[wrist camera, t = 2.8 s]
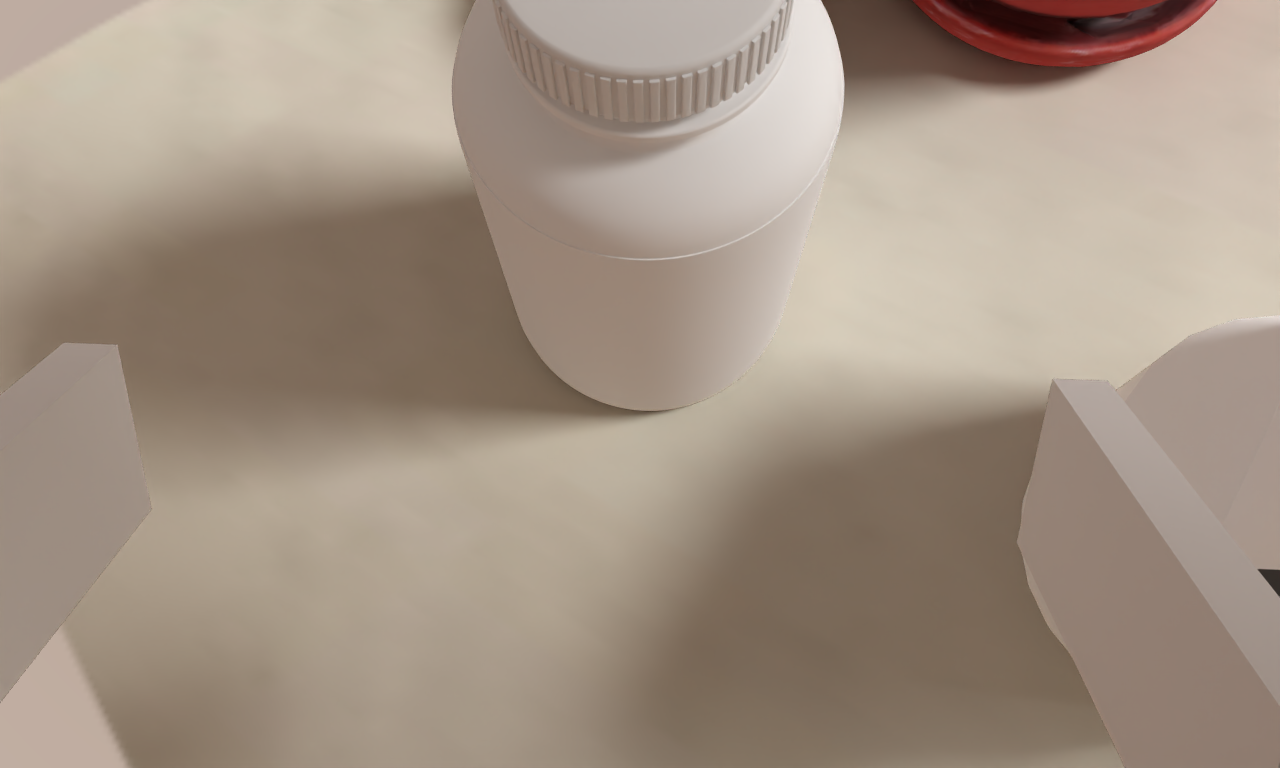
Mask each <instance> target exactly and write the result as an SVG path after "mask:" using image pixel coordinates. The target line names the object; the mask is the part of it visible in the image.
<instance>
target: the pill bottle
mask: <svg viewBox="0 0 1280 768" xmlns="http://www.w3.org/2000/svg"><path fill="white" fill-rule="evenodd" d="M452 104H453V112H454V119H455V124H456V128H457V133H458V137H459V140H460V144H461V147H462V150H463V154H464V157H465V160H466V163H467V166H468V169H469V172H470V175H471V178H472V181H473V184H474V187H475V190H476V192H477V195H478V198H479V201H480V204H481V207H482V210H483V213H484V216H485V219H486V222H487V225H488V228H489V231H490V234H491V237H492V240H493V243H494V246H495V249H496V252H497V255H498V258H499V261H500V264H501V267H502V270H503V273H504V276H505V279H506V282H507V285H508V288H509V291H510V294H511V297H512V300H513V303H514V306H515V309H516V312H517V315H518V318H519V321H520V323H521V326H522V328H523V330H524V332H525V334H526V336H527V338H528V340H529V342H530V343H531V345H532V346H533V348H534V349H535V351H536V352H537V354H538V355H539V356H540V358H541V359H542V360H543V361H544V363H545V364H546V365H547V366H548V367H549V368H550V369H551V370H552V371H553V372H554V373H555V374H556V375H557V376H558V377H559V378H560V379H562V380H563V381H564V382H565V383H567V384H568V385H569V386H571V387H572V388H574V389H575V390H577V391H579V392H580V393H582V394H584V395H586V396H588V397H590V398H592V399H594V400H597V401H599V402H602V403H605V404H608V405H612V406H615V407H620V408H625V409H631V410H641V411H659V410H669V409H675V408H680V407H685V406H688V405H692V404H695V403H698V402H701V401H703V400H705V399H708V398H710V397H712V396H714V395H716V394H718V393H720V392H721V391H723V390H725V389H726V388H728V387H729V386H731V385H732V384H733V383H735V382H736V381H737V380H739V379H740V378H741V377H742V376H743V375H744V374H745V373H746V372H747V371H748V370H749V369H750V368H751V367H752V366H753V365H754V364H755V363H756V362H757V360H758V359H759V358H760V357H761V355H762V354H763V352H764V351H765V349H766V348H767V346H768V345H769V343H770V342H771V340H772V338H773V336H774V335H775V333H776V331H777V328H778V326H779V324H780V321H781V319H782V316H783V313H784V309H785V306H786V303H787V300H788V296H789V293H790V290H791V287H792V283H793V280H794V277H795V274H796V270H797V267H798V264H799V261H800V257H801V254H802V251H803V248H804V245H805V241H806V238H807V235H808V232H809V228H810V225H811V222H812V219H813V215H814V212H815V209H816V206H817V202H818V199H819V196H820V193H821V189H822V186H823V183H824V180H825V176H826V173H827V170H828V167H829V163H830V160H831V157H832V154H833V150H834V147H835V144H836V140H837V136H838V132H839V128H840V124H841V118H842V112H843V104H844V72H843V65H842V59H841V55H840V51H839V46H838V42H837V38H836V35H835V32H834V29H833V26H832V23H831V20H830V18H829V16H828V13H827V11H826V9H825V7H824V5H823V3H822V1H821V0H476V1H475V3H474V5H473V7H472V9H471V11H470V13H469V15H468V18H467V20H466V22H465V25H464V28H463V31H462V34H461V37H460V40H459V44H458V49H457V53H456V58H455V63H454V69H453V78H452Z"/></svg>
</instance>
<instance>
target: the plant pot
mask: <svg viewBox="0 0 1280 768" xmlns="http://www.w3.org/2000/svg"><path fill="white" fill-rule="evenodd" d="M912 1H913V2H914V3H915V4H916V5H917V6H918V7H919V8H920V9H921V10H922V11H923V12H924V13H925V14H926V15H928V16H929V17H930V18H931V19H932V20H933V21H935V22H936V23H937V24H938V25H939V26H941V27H942V28H943V29H945V30H946V31H948V32H949V33H951V34H952V35H954V36H956V37H957V38H959V39H961V40H962V41H964V42H966V43H968V44H970V45H972V46H974V47H976V48H978V49H981V50H983V51H986V52H988V53H991V54H994V55H996V56H999V57H1003V58H1006V59H1010V60H1014V61H1018V62H1023V63H1028V64H1035V65H1043V66H1063V67H1083V66H1092V65H1098V64H1105V63H1110V62H1115V61H1119V60H1123V59H1126V58H1130V57H1133V56H1136V55H1139V54H1142V53H1144V52H1147V51H1149V50H1152V49H1154V48H1156V47H1158V46H1160V45H1162V44H1164V43H1166V42H1168V41H1169V40H1171V39H1172V38H1174V37H1176V36H1177V35H1179V34H1180V33H1182V32H1183V31H1185V30H1186V29H1187V28H1189V27H1190V26H1191V25H1193V24H1194V23H1195V22H1196V21H1197V20H1199V19H1200V18H1201V17H1202V16H1203V15H1204V14H1205V13H1206V12H1207V11H1208V10H1209V9H1210V8H1211V7H1212V6H1213V5H1214V4H1215V2H1216V1H1217V0H912Z"/></svg>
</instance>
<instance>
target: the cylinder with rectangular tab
mask: <svg viewBox="0 0 1280 768" xmlns="http://www.w3.org/2000/svg"><path fill="white" fill-rule="evenodd" d="M1116 392H1117V393H1118V394H1119V395H1120V397H1121V398H1122V399H1123V400H1124V402H1125V403H1126V404H1127V405H1128V407H1129V408H1130V409H1131V410H1132V412H1133V413H1134V414H1135V416H1136V417H1137V418H1138V419H1139V421H1140V422H1141V423H1142V424H1143V426H1144V427H1145V428H1146V429H1147V431H1148V432H1149V433H1150V434H1151V436H1152V437H1153V438H1154V440H1155V441H1156V442H1157V443H1158V445H1159V446H1160V447H1161V448H1162V450H1163V451H1164V452H1165V453H1166V455H1167V456H1168V457H1169V458H1170V460H1171V461H1172V462H1173V463H1174V465H1175V466H1176V467H1177V469H1178V470H1179V471H1180V472H1181V474H1182V475H1183V476H1184V477H1185V479H1186V480H1187V481H1188V482H1189V484H1190V485H1191V486H1192V487H1193V489H1194V490H1195V491H1196V492H1197V494H1198V495H1199V496H1200V498H1201V499H1202V500H1203V501H1204V503H1205V504H1206V505H1207V506H1208V508H1209V509H1210V510H1211V511H1212V513H1213V514H1214V515H1215V516H1216V518H1217V519H1218V520H1219V522H1220V523H1221V524H1222V525H1223V527H1224V528H1225V529H1226V530H1227V532H1228V533H1229V534H1230V535H1231V537H1232V538H1233V539H1234V540H1235V542H1236V543H1237V544H1238V545H1239V547H1240V548H1241V549H1242V551H1243V552H1244V553H1245V554H1246V556H1247V557H1248V558H1249V559H1250V561H1251V562H1252V563H1253V564H1254V566H1255V567H1256V568H1257V569H1273V570H1280V315H1277V316H1266V317H1254V318H1243V319H1234V320H1231V321H1228V322H1225V323H1223V324H1220V325H1217V326H1214V327H1212V328H1209V329H1206V330H1204V331H1201V332H1198V333H1195V334H1193V335H1190V336H1188V337H1187V338H1186V339H1184V340H1183V341H1182V342H1180V343H1179V344H1178V345H1176V346H1175V347H1174V348H1172V349H1171V350H1170V351H1168V352H1167V353H1166V354H1164V355H1163V356H1162V357H1160V358H1159V359H1157V360H1156V361H1155V362H1153V363H1152V364H1151V365H1149V366H1148V367H1147V368H1145V369H1144V370H1143V371H1141V372H1140V373H1139V374H1137V375H1136V376H1135V377H1133V378H1132V379H1131V380H1129V381H1128V382H1127V383H1125V384H1124V385H1122V386H1121V387H1120V388H1118V389H1117V390H1116ZM1029 484H1030V482H1029ZM1028 489H1029V485H1028V487H1027V490H1026V493H1025V496H1024V498H1023V502H1022V516H1023V511H1024V507H1025V502H1026V498H1027V493H1028ZM1021 521H1022V517H1021ZM1022 556H1023V555H1022ZM1023 561H1024V566H1025V571H1026V576H1027V581H1028V586H1029V588H1030V590H1031V592H1032V594H1033V596H1034V598H1035V600H1036V602H1037V605H1038V607H1039V609H1040V611H1041V613H1042V615H1043V617H1044V619H1045V621H1046V623H1047V626H1048V627H1049V629H1050V630H1051V631H1052V632H1053V634H1054V635H1055V636H1056V637H1057V639H1058V640H1059V641H1060V642H1061V643H1062V645H1063V646H1064V647H1065V648H1066V650H1067V651H1068V652H1069V650H1068V648H1067V646H1066V644H1065V642H1064V640H1063V638H1062V636H1061V634H1060V632H1059V630H1058V627H1057V625H1056V623H1055V621H1054V619H1053V617H1052V615H1051V613H1050V611H1049V609H1048V607H1047V605H1046V602H1045V600H1044V598H1043V596H1042V594H1041V592H1040V590H1039V588H1038V586H1037V584H1036V582H1035V580H1034V578H1033V575H1032V573H1031V571H1030V569H1029V567H1028V565H1027V563H1026V561H1025V559H1024V557H1023ZM1069 653H1070V652H1069ZM1070 655H1071V654H1070Z"/></svg>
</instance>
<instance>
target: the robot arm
mask: <svg viewBox="0 0 1280 768" xmlns="http://www.w3.org/2000/svg"><path fill="white" fill-rule="evenodd" d="M151 509H152V508H151V503H150V498H149V493H148V488H147V484H146V479H145V474H144V469H143V464H142V460H141V455H140V450H139V445H138V440H137V436H136V431H135V426H134V421H133V416H132V412H131V407H130V402H129V397H128V392H127V388H126V383H125V378H124V373H123V369H122V364H121V359H120V354H119V349H118V345H115V344H88V343H63V344H61V345H60V346H59V347H58V348H57V349H55V350H54V351H53V352H52V353H50V354H49V355H48V356H47V357H46V358H44V359H43V360H42V361H41V362H40V363H38V364H37V365H36V366H35V367H34V368H32V369H31V370H30V371H29V372H27V373H26V374H25V375H24V376H23V377H21V378H20V379H19V380H18V381H17V382H15V383H14V384H13V385H12V386H10V387H9V388H8V389H7V390H6V391H4V392H3V393H2V394H1V395H0V702H1V701H2V700H3V699H4V697H5V696H6V695H7V694H8V692H9V691H10V690H11V688H12V687H13V686H14V685H15V683H16V682H17V681H18V680H19V678H20V677H21V676H22V674H23V673H24V672H25V671H26V669H27V668H28V667H29V665H30V664H31V663H32V662H33V660H34V659H35V658H36V656H37V655H38V654H39V653H40V651H41V650H42V649H43V647H44V646H45V645H46V644H47V642H48V641H49V640H50V639H51V637H52V636H53V635H54V633H55V632H56V631H57V630H58V628H59V627H60V626H61V625H62V623H63V622H64V621H65V619H66V618H67V617H68V616H69V614H70V613H71V612H72V610H73V609H74V608H75V607H76V605H77V604H78V603H79V601H80V600H81V599H82V598H83V596H84V595H85V594H86V593H87V591H88V590H89V589H90V587H91V586H92V585H93V584H94V582H95V581H96V580H97V578H98V577H99V576H100V575H101V573H102V572H103V571H104V570H105V568H106V567H107V566H108V564H109V563H110V562H111V561H112V559H113V558H114V557H115V555H116V554H117V553H118V552H119V550H120V549H121V548H122V546H123V545H124V544H125V543H126V541H127V540H128V539H129V538H130V536H131V535H132V534H133V532H134V531H135V530H136V529H137V527H138V526H139V525H140V523H141V522H142V521H143V520H144V518H145V517H146V516H147V515H148V513H149V512H150V511H151ZM1017 544H1018V546H1019V548H1020V551H1021V553H1022V555H1023V557H1024V559H1025V561H1026V563H1027V565H1028V567H1029V569H1030V571H1031V573H1032V575H1033V578H1034V580H1035V582H1036V584H1037V586H1038V588H1039V590H1040V592H1041V594H1042V596H1043V598H1044V600H1045V602H1046V605H1047V607H1048V609H1049V611H1050V613H1051V615H1052V617H1053V619H1054V621H1055V623H1056V625H1057V627H1058V630H1059V632H1060V634H1061V636H1062V638H1063V640H1064V642H1065V644H1066V646H1067V648H1068V650H1069V652H1070V654H1071V657H1072V659H1073V661H1074V663H1075V665H1076V667H1077V669H1078V671H1079V673H1080V675H1081V677H1082V679H1083V681H1084V684H1085V686H1086V688H1087V690H1088V692H1089V694H1090V696H1091V698H1092V700H1093V702H1094V704H1095V706H1096V708H1097V711H1098V713H1099V715H1100V717H1101V719H1102V721H1103V723H1104V725H1105V727H1106V729H1107V731H1108V733H1109V735H1110V738H1111V740H1112V742H1113V744H1114V746H1115V748H1116V750H1117V752H1118V754H1119V756H1120V758H1121V760H1122V762H1123V765H1124V767H1125V768H1280V570H1273V569H1257V568H1256V567H1255V566H1254V564H1253V563H1252V562H1251V561H1250V559H1249V558H1248V557H1247V556H1246V554H1245V553H1244V552H1243V551H1242V549H1241V548H1240V547H1239V545H1238V544H1237V543H1236V542H1235V540H1234V539H1233V538H1232V537H1231V535H1230V534H1229V533H1228V532H1227V530H1226V529H1225V528H1224V527H1223V525H1222V524H1221V523H1220V522H1219V520H1218V519H1217V518H1216V516H1215V515H1214V514H1213V513H1212V511H1211V510H1210V509H1209V508H1208V506H1207V505H1206V504H1205V503H1204V501H1203V500H1202V499H1201V498H1200V496H1199V495H1198V494H1197V492H1196V491H1195V490H1194V489H1193V487H1192V486H1191V485H1190V484H1189V482H1188V481H1187V480H1186V479H1185V477H1184V476H1183V475H1182V474H1181V472H1180V471H1179V470H1178V469H1177V467H1176V466H1175V465H1174V463H1173V462H1172V461H1171V460H1170V458H1169V457H1168V456H1167V455H1166V453H1165V452H1164V451H1163V450H1162V448H1161V447H1160V446H1159V445H1158V443H1157V442H1156V441H1155V440H1154V438H1153V437H1152V436H1151V434H1150V433H1149V432H1148V431H1147V429H1146V428H1145V427H1144V426H1143V424H1142V423H1141V422H1140V421H1139V419H1138V418H1137V417H1136V416H1135V414H1134V413H1133V412H1132V410H1131V409H1130V408H1129V407H1128V405H1127V404H1126V403H1125V402H1124V400H1123V399H1122V398H1121V397H1120V395H1119V394H1118V393H1117V392H1116V390H1115V389H1114V388H1113V387H1112V385H1111V384H1110V383H1109V381H1102V380H1074V379H1052V384H1051V388H1050V393H1049V397H1048V402H1047V406H1046V411H1045V416H1044V420H1043V425H1042V429H1041V434H1040V438H1039V443H1038V448H1037V452H1036V457H1035V461H1034V466H1033V470H1032V475H1031V479H1030V484H1029V489H1028V493H1027V498H1026V502H1025V507H1024V511H1023V516H1022V521H1021V525H1020V530H1019V534H1018V539H1017Z"/></svg>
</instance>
